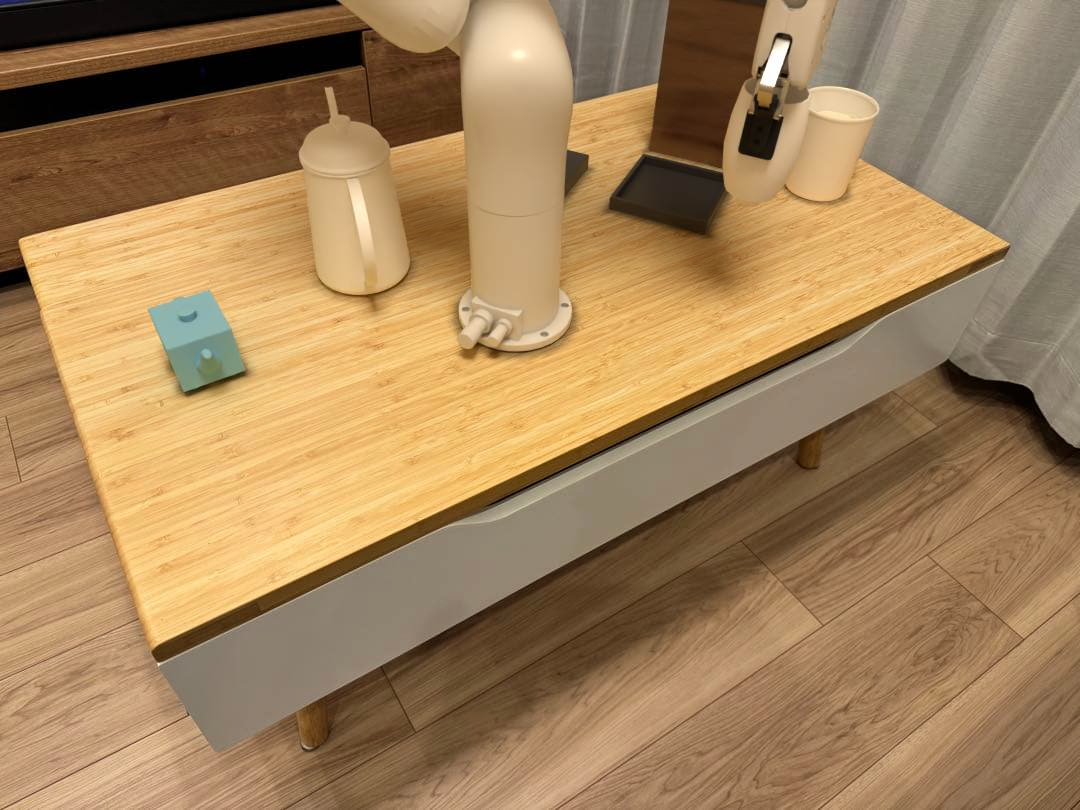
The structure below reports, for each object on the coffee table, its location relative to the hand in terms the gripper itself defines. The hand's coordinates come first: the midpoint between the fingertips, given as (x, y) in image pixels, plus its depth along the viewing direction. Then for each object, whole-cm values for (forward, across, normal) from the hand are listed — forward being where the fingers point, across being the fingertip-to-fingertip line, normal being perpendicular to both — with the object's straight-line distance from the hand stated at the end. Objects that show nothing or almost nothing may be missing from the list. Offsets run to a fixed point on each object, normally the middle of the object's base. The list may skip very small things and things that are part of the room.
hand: (764, 136), depth 74 cm
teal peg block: (+22, -34, +44) cm, 60 cm away
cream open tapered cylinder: (+20, +32, -5) cm, 39 cm away
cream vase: (+16, 0, 0) cm, 16 cm away
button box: (+21, +16, +30) cm, 40 cm away
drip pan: (+21, +20, +12) cm, 32 cm away
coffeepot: (+22, -12, +40) cm, 47 cm away
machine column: (+21, +34, +12) cm, 42 cm away
